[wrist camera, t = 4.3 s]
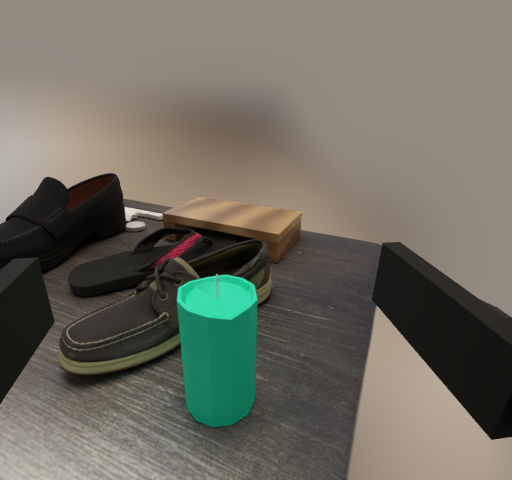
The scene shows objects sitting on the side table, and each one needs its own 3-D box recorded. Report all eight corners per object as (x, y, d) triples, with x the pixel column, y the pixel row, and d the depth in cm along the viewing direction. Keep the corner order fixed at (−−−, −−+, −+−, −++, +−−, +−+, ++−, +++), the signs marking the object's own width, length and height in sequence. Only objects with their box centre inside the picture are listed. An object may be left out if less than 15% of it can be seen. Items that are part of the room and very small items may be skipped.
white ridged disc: (120, 228, 64) (120, 225, 64) (136, 222, 67) (135, 219, 67) (135, 232, 62) (134, 229, 62) (150, 226, 65) (150, 223, 65)
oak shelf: (300, 237, 62) (301, 212, 60) (277, 263, 52) (278, 234, 50) (201, 219, 70) (200, 196, 68) (164, 238, 60) (162, 212, 58)
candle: (175, 422, 26) (161, 293, 21) (197, 366, 32) (189, 254, 27) (250, 432, 25) (252, 301, 21) (259, 373, 31) (262, 259, 26)
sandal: (252, 261, 52) (252, 228, 50) (75, 310, 39) (66, 268, 37) (224, 241, 60) (223, 211, 57) (67, 277, 47) (58, 240, 44)
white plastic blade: (148, 225, 66) (148, 220, 65) (94, 214, 72) (93, 209, 71) (165, 217, 70) (164, 213, 70) (113, 208, 76) (112, 203, 75)
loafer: (-58, 282, 44) (-93, 195, 40) (105, 222, 68) (95, 163, 64) (-14, 298, 41) (-47, 203, 36) (142, 229, 65) (134, 167, 60)
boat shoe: (50, 351, 33) (30, 281, 30) (237, 271, 49) (237, 220, 46) (81, 408, 27) (60, 328, 24) (283, 296, 43) (286, 240, 40)
